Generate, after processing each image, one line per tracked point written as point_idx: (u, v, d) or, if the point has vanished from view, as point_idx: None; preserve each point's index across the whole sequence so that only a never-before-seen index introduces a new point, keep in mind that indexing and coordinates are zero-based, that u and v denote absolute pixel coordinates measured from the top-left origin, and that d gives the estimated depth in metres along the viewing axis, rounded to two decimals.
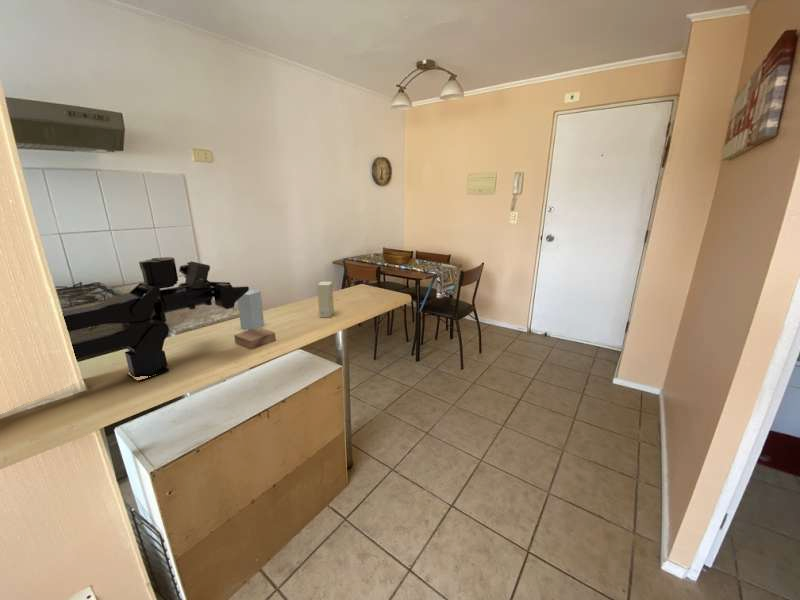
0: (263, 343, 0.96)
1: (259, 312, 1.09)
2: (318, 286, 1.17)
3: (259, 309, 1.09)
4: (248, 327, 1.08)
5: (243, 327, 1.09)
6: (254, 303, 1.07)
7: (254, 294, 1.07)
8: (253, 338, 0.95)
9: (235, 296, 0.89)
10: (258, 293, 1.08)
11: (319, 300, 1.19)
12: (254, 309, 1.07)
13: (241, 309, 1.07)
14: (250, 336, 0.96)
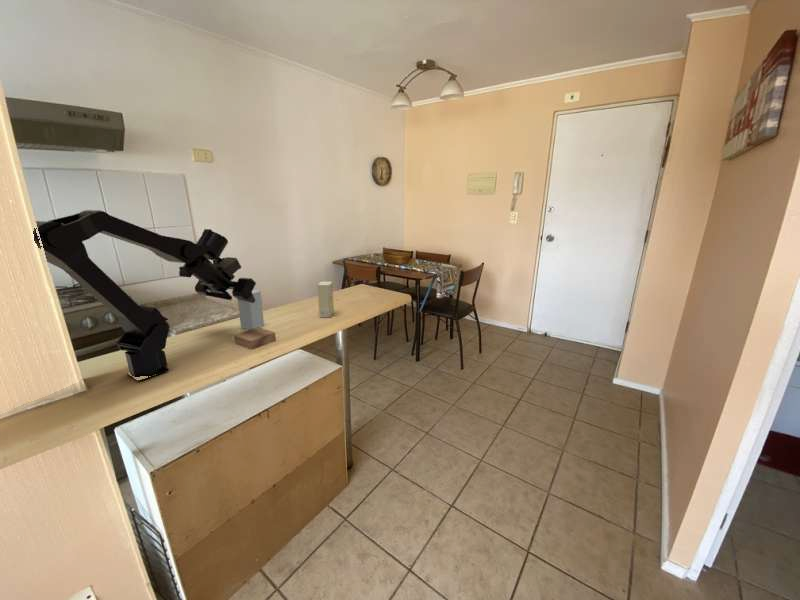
0: (263, 343, 0.96)
1: (259, 312, 1.09)
2: (318, 286, 1.17)
3: (259, 309, 1.09)
4: (248, 327, 1.08)
5: (243, 327, 1.09)
6: (254, 303, 1.07)
7: (254, 294, 1.07)
8: (253, 338, 0.95)
9: None
10: (258, 293, 1.08)
11: (319, 300, 1.19)
12: (254, 309, 1.07)
13: (241, 309, 1.07)
14: (250, 336, 0.96)
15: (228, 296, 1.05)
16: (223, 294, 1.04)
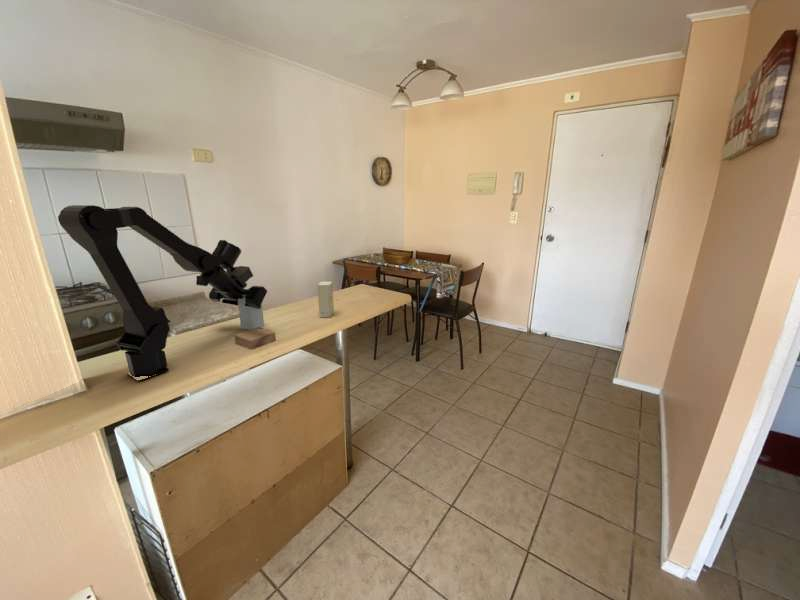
0: (263, 343, 0.96)
1: (259, 312, 1.09)
2: (318, 286, 1.17)
3: (259, 309, 1.09)
4: (248, 327, 1.08)
5: (243, 327, 1.09)
6: None
7: None
8: (253, 338, 0.95)
9: None
10: None
11: (319, 300, 1.19)
12: (254, 309, 1.07)
13: (241, 309, 1.07)
14: (250, 336, 0.96)
15: None
16: None
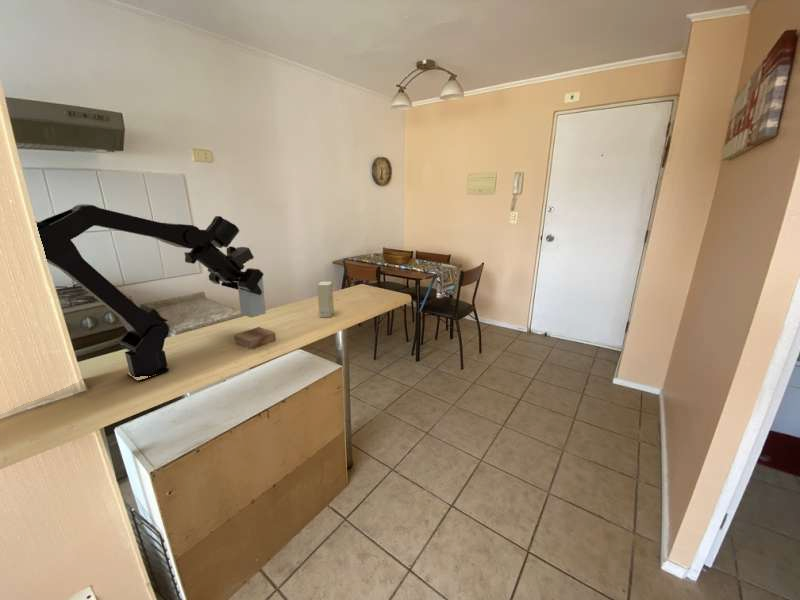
0: (263, 343, 0.96)
1: (260, 298, 1.01)
2: (318, 286, 1.17)
3: (260, 295, 1.01)
4: (247, 313, 1.00)
5: (242, 313, 1.01)
6: None
7: None
8: (253, 338, 0.95)
9: None
10: None
11: (319, 300, 1.19)
12: (253, 295, 0.99)
13: (241, 293, 0.99)
14: (250, 336, 0.96)
15: None
16: None
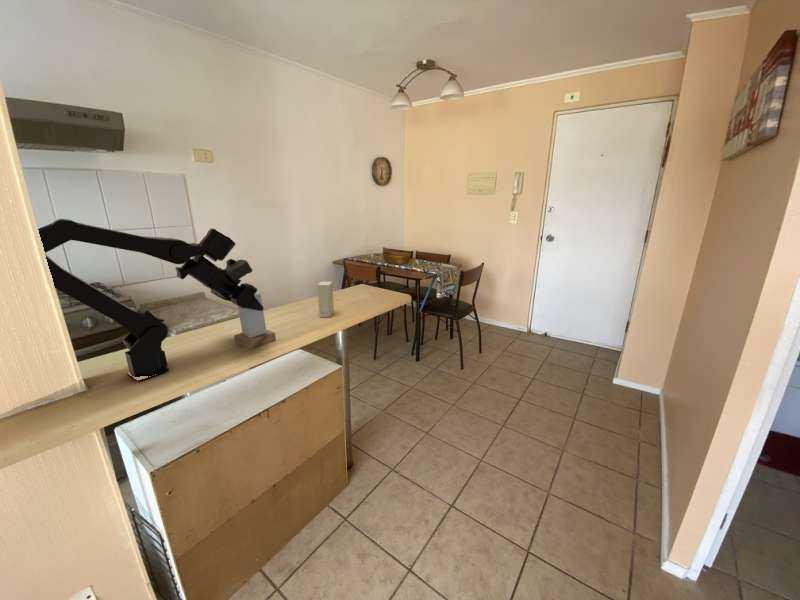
0: (263, 343, 0.96)
1: (259, 317, 0.96)
2: (318, 286, 1.17)
3: (259, 314, 0.95)
4: (246, 333, 0.96)
5: (243, 332, 0.97)
6: None
7: None
8: (253, 338, 0.95)
9: (249, 304, 0.90)
10: (257, 296, 0.94)
11: (319, 300, 1.19)
12: (251, 314, 0.94)
13: (240, 312, 0.95)
14: None
15: None
16: None
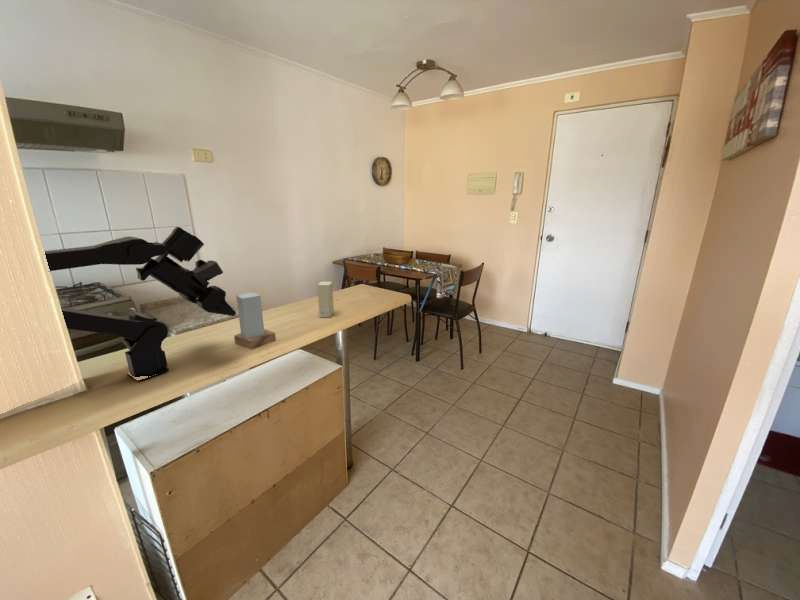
0: (263, 343, 0.96)
1: (257, 319, 0.95)
2: (318, 286, 1.17)
3: (257, 316, 0.95)
4: (244, 334, 0.95)
5: (241, 333, 0.97)
6: (250, 309, 0.93)
7: (250, 298, 0.92)
8: (253, 338, 0.95)
9: (219, 309, 0.84)
10: (257, 298, 0.94)
11: (319, 300, 1.19)
12: (249, 316, 0.93)
13: (239, 313, 0.95)
14: None
15: None
16: None
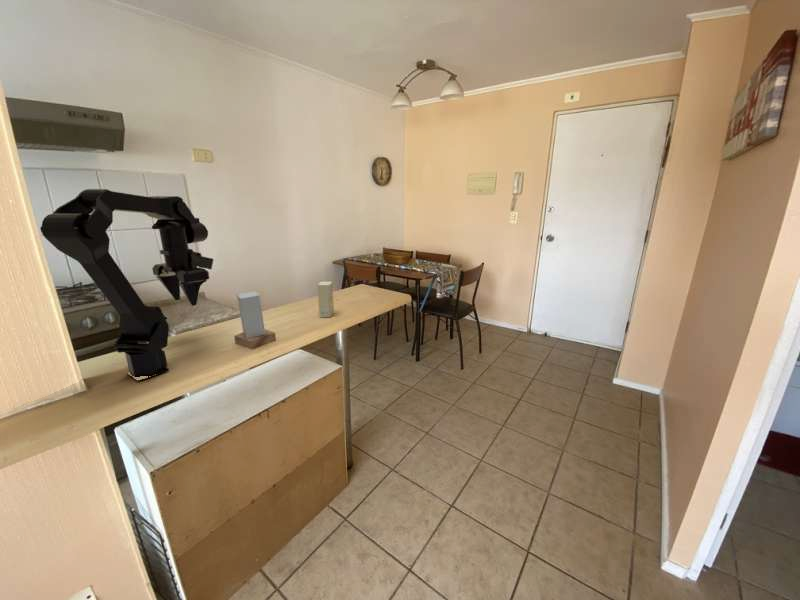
0: (263, 343, 0.97)
1: (257, 319, 0.95)
2: (318, 286, 1.17)
3: (257, 315, 0.95)
4: (245, 333, 0.96)
5: (243, 332, 0.98)
6: (249, 308, 0.93)
7: (249, 298, 0.92)
8: (254, 338, 0.95)
9: (189, 289, 0.87)
10: (256, 297, 0.93)
11: (319, 300, 1.19)
12: (249, 316, 0.93)
13: (240, 312, 0.95)
14: None
15: (176, 294, 0.94)
16: (173, 288, 0.93)
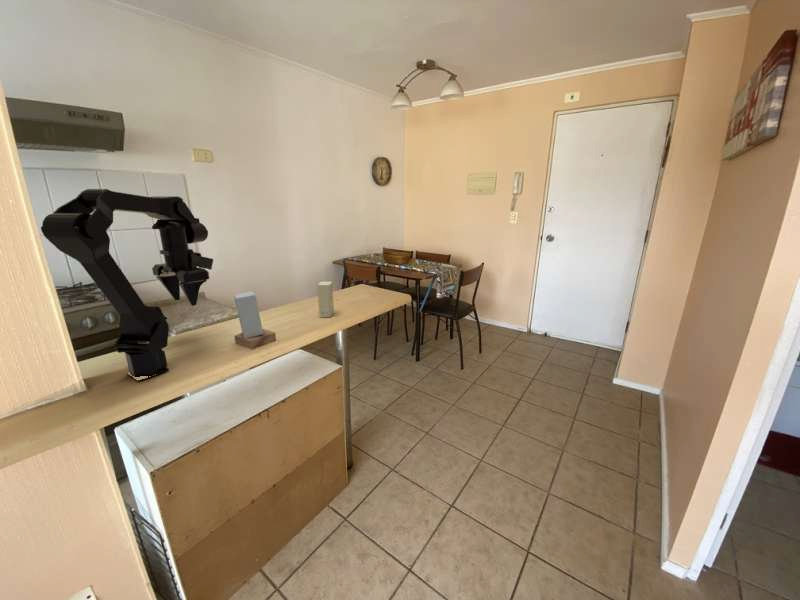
0: (263, 343, 0.97)
1: (254, 319, 0.95)
2: (318, 286, 1.17)
3: (254, 315, 0.94)
4: (243, 333, 0.96)
5: (242, 332, 0.98)
6: (245, 308, 0.93)
7: (245, 298, 0.92)
8: (254, 338, 0.95)
9: (189, 289, 0.87)
10: (252, 297, 0.93)
11: (319, 300, 1.19)
12: (246, 315, 0.93)
13: (238, 312, 0.96)
14: (251, 337, 0.96)
15: (176, 294, 0.94)
16: (173, 288, 0.93)
